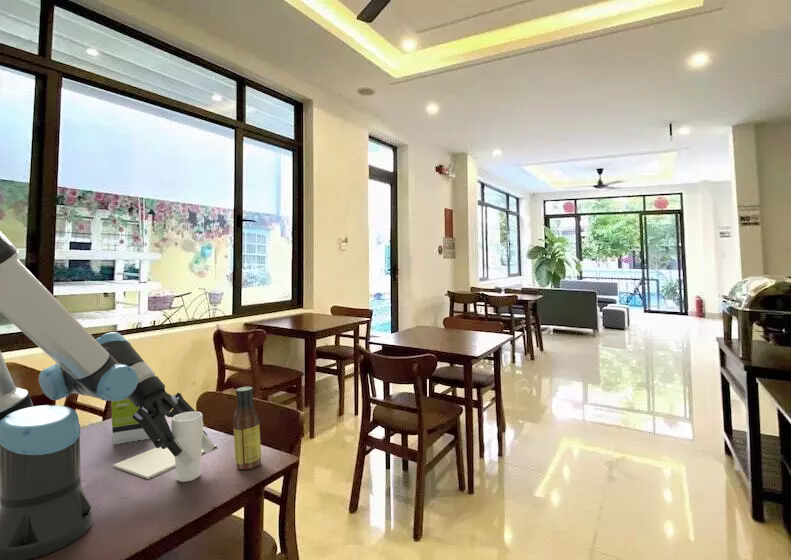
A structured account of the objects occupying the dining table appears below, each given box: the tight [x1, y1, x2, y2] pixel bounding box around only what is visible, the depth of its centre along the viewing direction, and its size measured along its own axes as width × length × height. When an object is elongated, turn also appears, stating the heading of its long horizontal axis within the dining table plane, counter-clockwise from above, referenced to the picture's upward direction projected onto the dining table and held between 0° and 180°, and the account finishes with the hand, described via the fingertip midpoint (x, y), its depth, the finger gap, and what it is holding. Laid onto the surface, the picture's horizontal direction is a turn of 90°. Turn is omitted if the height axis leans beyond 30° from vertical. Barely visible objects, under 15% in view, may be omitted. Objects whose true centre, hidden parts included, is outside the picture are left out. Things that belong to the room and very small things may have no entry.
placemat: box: [112, 443, 218, 480], centre depth 113 cm, size 20×14×1 cm
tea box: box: [110, 397, 150, 445], centre depth 129 cm, size 15×10×15 cm, turn 25°
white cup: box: [170, 410, 204, 483], centre depth 101 cm, size 7×7×15 cm
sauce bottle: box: [232, 386, 262, 471], centre depth 107 cm, size 6×6×20 cm
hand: (201, 456), depth 100 cm, fingers closed on white cup, 7 cm apart
